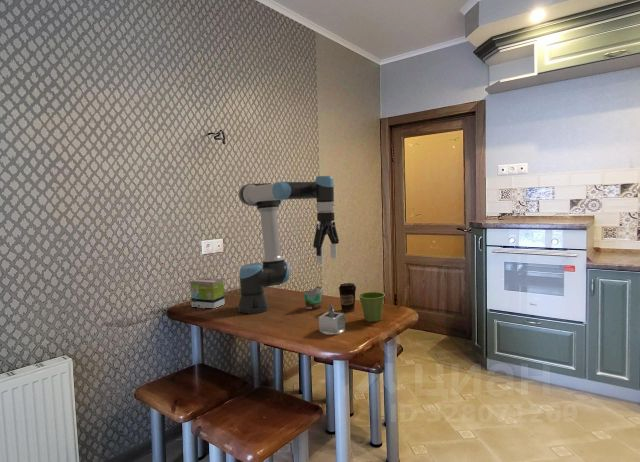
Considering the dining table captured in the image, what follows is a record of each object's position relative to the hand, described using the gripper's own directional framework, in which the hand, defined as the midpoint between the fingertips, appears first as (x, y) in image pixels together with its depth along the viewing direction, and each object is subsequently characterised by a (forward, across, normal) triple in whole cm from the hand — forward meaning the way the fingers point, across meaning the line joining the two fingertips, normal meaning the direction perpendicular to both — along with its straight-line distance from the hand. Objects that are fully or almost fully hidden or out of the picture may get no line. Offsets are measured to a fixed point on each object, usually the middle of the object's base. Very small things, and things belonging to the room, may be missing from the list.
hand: (327, 260), depth 169 cm
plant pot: (+28, +9, -17) cm, 34 cm away
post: (+27, -10, -6) cm, 30 cm away
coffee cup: (+28, +20, -1) cm, 34 cm away
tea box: (+30, +4, +75) cm, 81 cm away
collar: (+27, -10, -6) cm, 29 cm away
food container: (+28, +19, +16) cm, 37 cm away
